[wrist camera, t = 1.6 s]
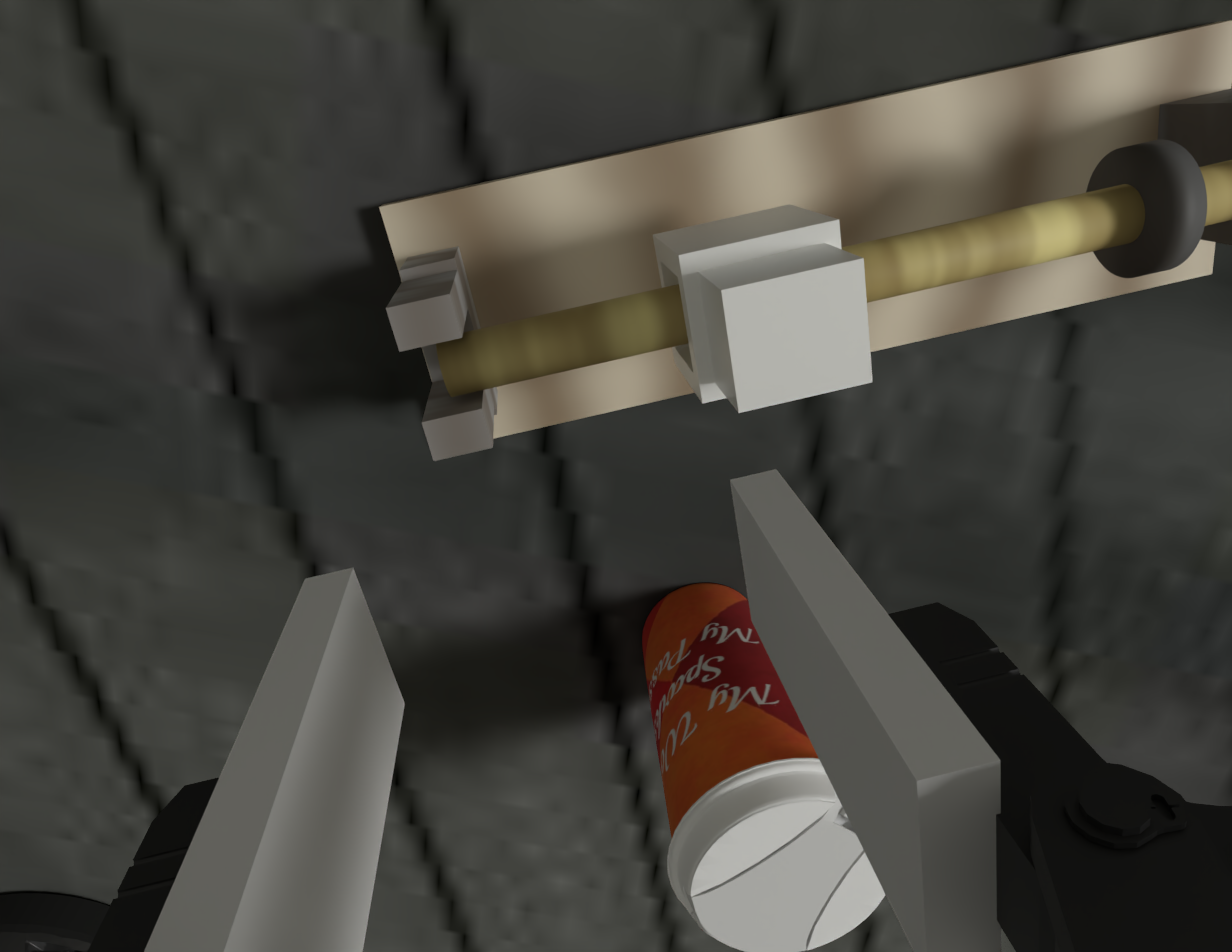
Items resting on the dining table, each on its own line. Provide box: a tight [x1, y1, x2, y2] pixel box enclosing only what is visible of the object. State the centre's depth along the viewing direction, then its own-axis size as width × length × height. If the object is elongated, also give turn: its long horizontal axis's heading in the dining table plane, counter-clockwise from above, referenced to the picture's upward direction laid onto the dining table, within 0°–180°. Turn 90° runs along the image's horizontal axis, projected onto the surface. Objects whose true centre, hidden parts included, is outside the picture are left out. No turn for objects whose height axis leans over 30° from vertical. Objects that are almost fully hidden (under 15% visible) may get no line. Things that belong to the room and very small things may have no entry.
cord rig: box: [379, 20, 1232, 461], centre depth 30 cm, size 34×10×10 cm, turn 101°
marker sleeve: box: [653, 204, 872, 413], centre depth 27 cm, size 5×5×8 cm
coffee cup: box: [642, 583, 885, 952], centre depth 35 cm, size 8×8×15 cm
